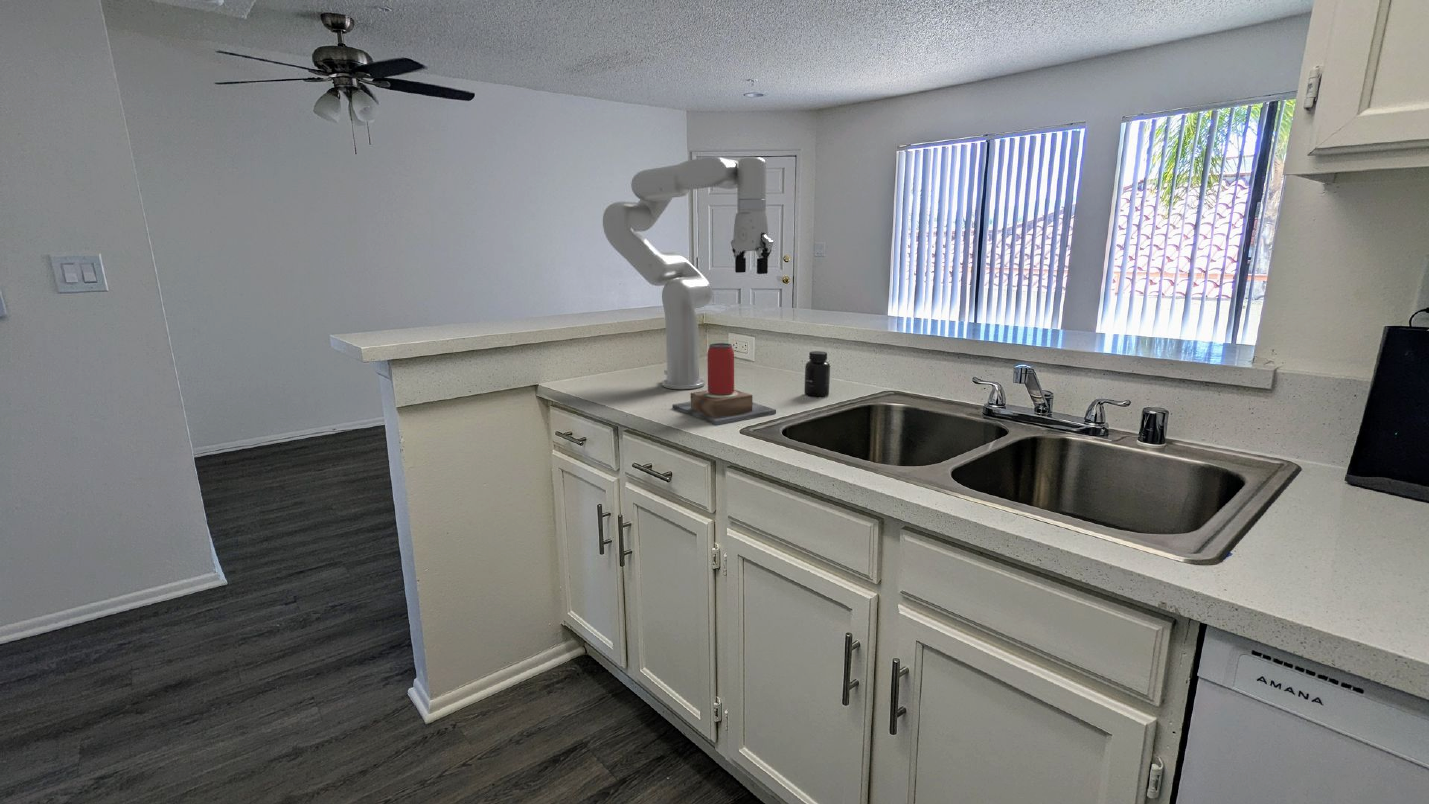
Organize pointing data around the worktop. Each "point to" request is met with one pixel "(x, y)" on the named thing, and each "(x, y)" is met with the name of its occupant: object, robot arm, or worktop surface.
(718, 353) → the beer can
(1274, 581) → the worktop surface
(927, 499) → the worktop surface
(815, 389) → the supplement bottle
